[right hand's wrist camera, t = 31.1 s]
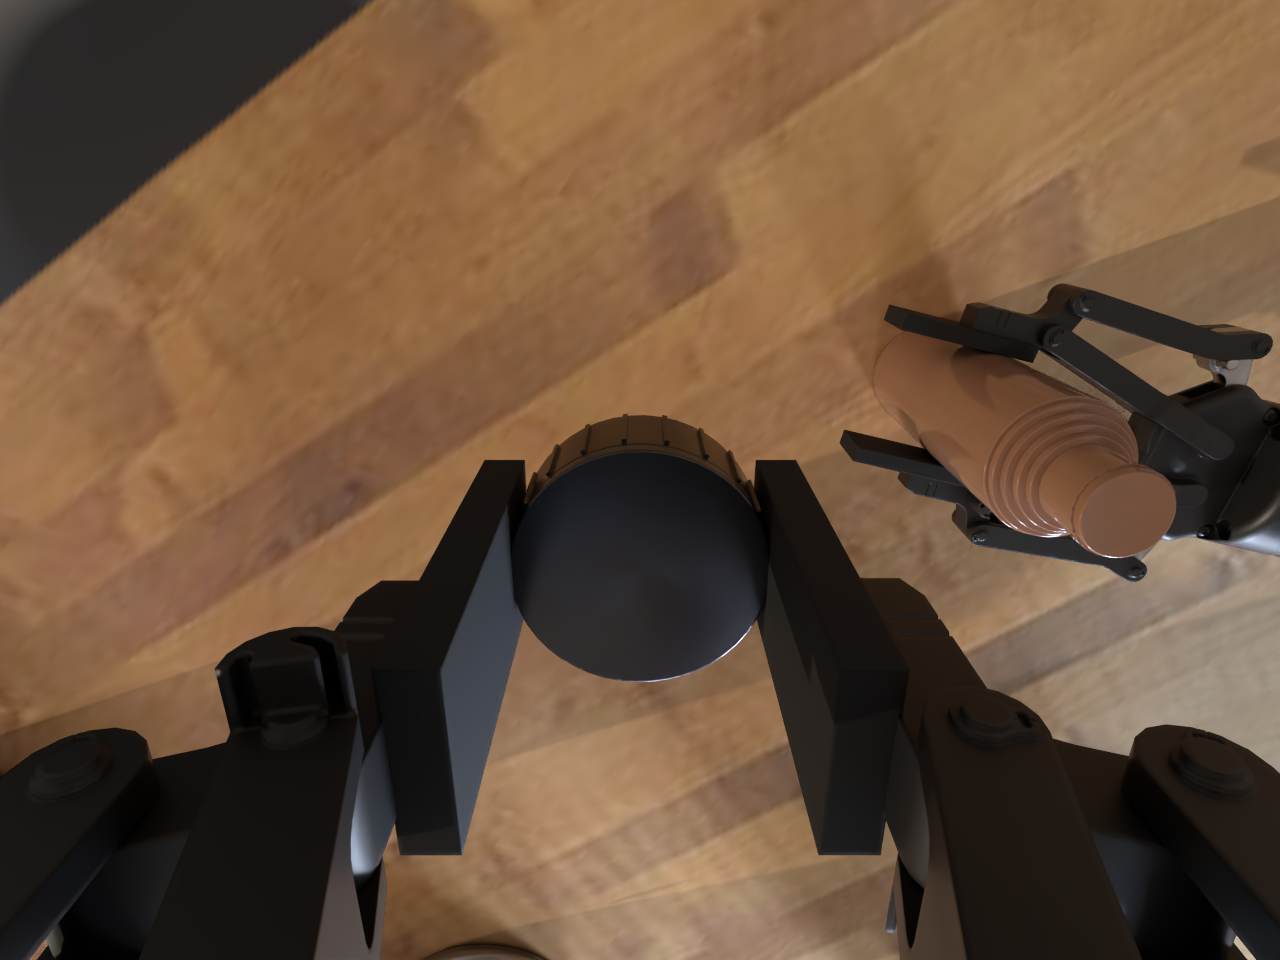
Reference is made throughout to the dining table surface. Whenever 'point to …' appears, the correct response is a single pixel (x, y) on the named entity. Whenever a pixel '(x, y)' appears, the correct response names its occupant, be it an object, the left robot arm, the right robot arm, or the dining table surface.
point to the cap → (640, 550)
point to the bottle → (1026, 444)
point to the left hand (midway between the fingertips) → (871, 383)
